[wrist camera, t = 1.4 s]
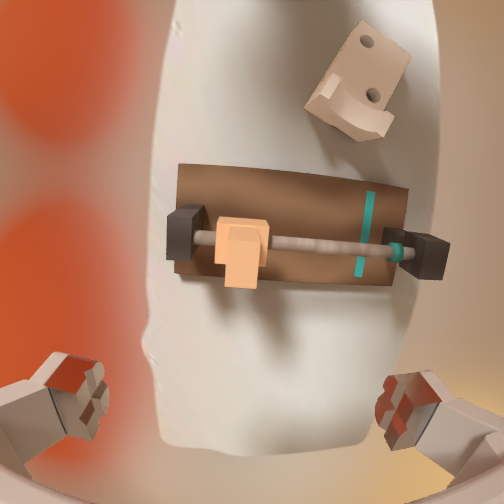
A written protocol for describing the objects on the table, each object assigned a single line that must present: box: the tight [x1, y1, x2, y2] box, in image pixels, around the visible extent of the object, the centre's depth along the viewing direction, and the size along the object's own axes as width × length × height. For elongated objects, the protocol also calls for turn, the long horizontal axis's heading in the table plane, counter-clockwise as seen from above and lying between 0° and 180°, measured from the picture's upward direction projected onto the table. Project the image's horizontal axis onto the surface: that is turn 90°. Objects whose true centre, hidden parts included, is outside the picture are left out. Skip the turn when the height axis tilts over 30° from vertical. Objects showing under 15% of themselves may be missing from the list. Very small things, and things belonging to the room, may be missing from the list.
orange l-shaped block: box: [215, 217, 269, 289], centre depth 23 cm, size 3×4×8 cm
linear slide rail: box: [166, 164, 450, 286], centre depth 29 cm, size 12×26×11 cm, turn 85°
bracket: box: [304, 20, 412, 142], centre depth 27 cm, size 13×7×8 cm, turn 150°
